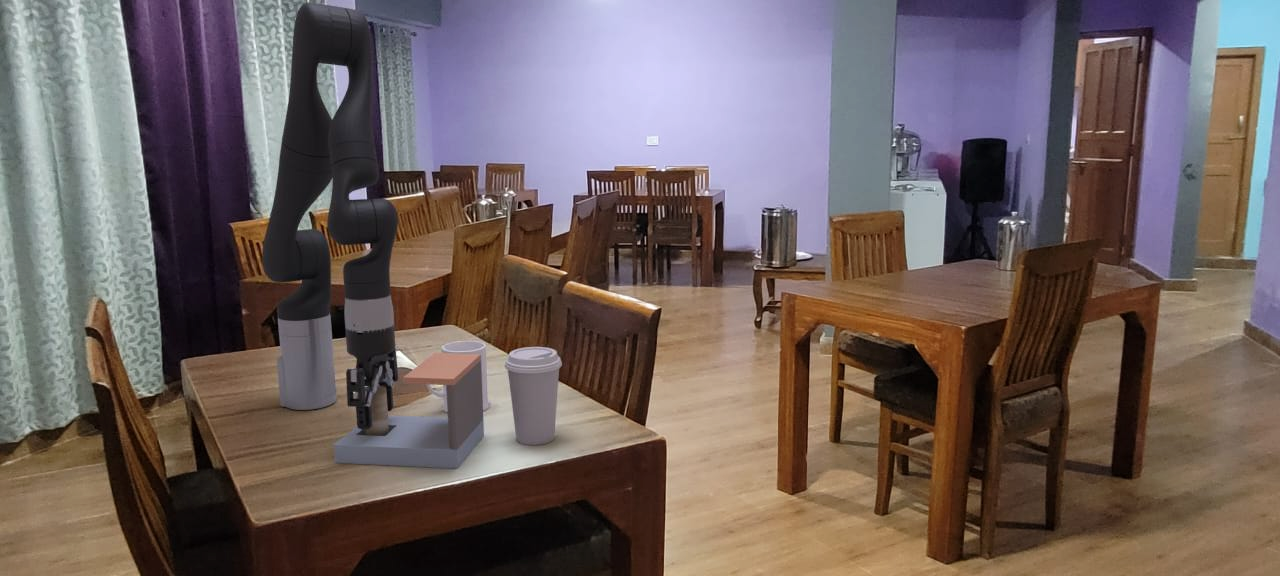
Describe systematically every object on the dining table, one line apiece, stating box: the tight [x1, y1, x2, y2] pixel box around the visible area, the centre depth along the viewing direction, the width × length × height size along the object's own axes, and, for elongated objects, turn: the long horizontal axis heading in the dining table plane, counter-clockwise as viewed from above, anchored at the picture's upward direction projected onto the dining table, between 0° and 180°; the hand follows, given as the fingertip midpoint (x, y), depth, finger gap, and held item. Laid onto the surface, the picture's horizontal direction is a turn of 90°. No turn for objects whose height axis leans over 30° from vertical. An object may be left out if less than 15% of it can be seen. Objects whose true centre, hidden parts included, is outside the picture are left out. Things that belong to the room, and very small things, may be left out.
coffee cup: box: [504, 346, 563, 446], centre depth 142 cm, size 10×10×15 cm
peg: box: [365, 386, 389, 436], centre depth 139 cm, size 4×4×10 cm
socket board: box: [333, 352, 485, 469], centre depth 138 cm, size 20×14×14 cm
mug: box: [425, 340, 490, 414], centre depth 157 cm, size 12×8×12 cm
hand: (375, 419), depth 139 cm, fingers open, 8 cm apart
